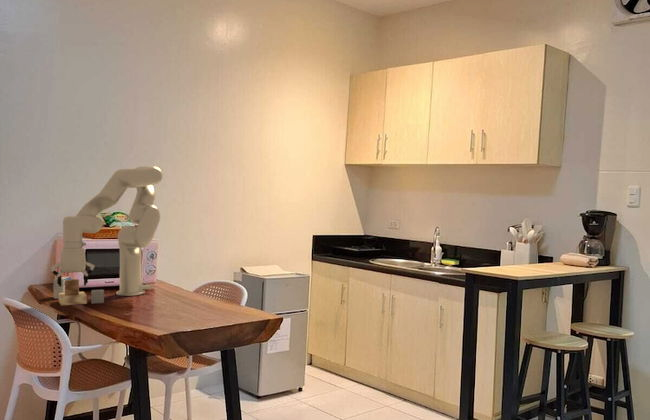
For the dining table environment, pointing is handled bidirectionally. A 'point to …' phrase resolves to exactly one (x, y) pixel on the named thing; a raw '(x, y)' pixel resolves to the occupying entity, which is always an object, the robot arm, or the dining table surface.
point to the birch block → (72, 299)
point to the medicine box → (59, 289)
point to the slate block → (97, 296)
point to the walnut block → (72, 287)
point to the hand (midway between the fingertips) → (72, 285)
